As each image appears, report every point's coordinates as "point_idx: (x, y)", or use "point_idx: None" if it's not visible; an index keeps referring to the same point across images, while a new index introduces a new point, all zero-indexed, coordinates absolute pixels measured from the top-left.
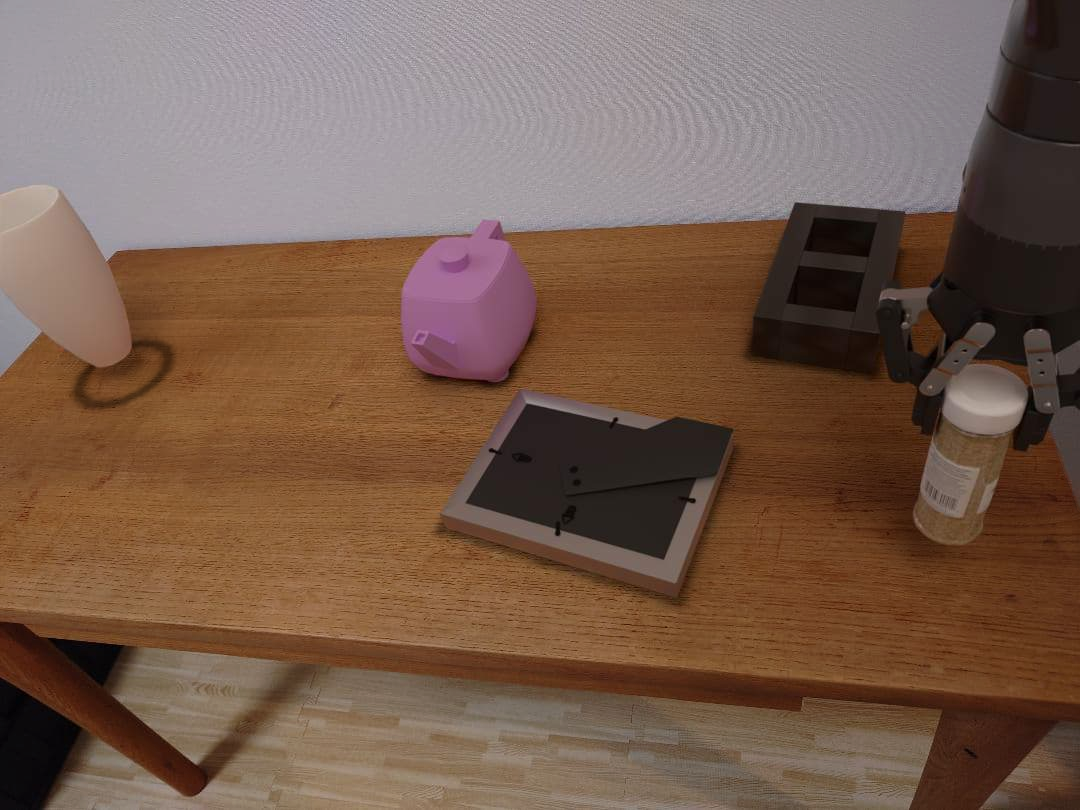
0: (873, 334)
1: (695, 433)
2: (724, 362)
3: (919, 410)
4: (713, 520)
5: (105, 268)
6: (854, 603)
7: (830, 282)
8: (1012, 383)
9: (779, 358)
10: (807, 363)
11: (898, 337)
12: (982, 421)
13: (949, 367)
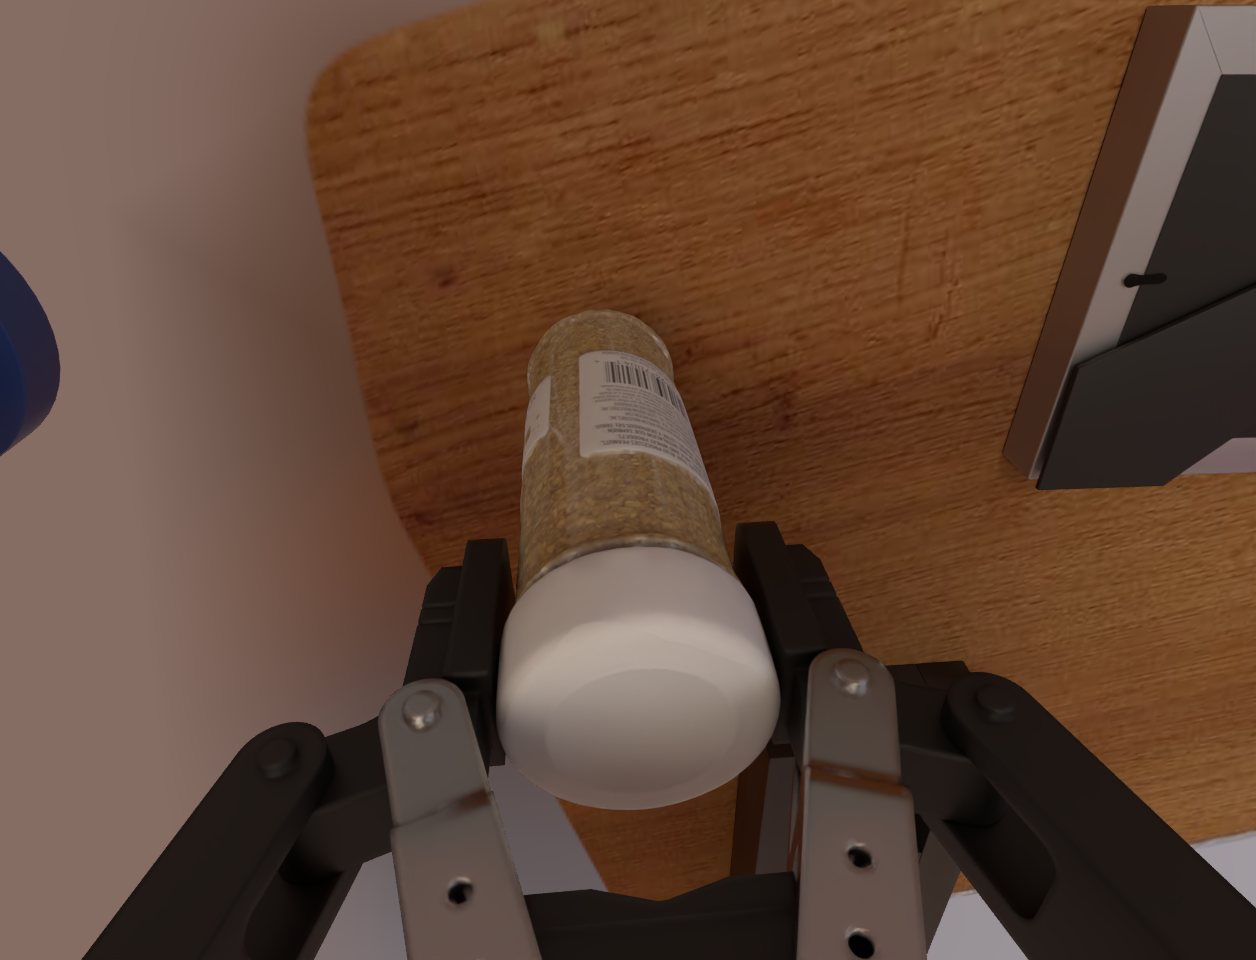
0: (781, 754)
1: (1122, 455)
2: (1013, 635)
3: (815, 591)
4: (1047, 267)
5: None
6: (737, 149)
7: None
8: (558, 765)
9: (913, 666)
10: None
11: (1182, 931)
12: (633, 592)
13: (865, 810)
